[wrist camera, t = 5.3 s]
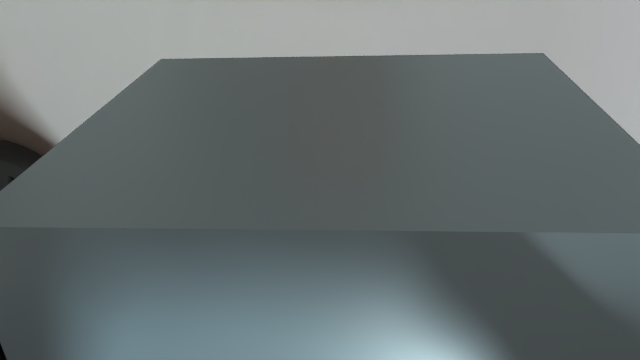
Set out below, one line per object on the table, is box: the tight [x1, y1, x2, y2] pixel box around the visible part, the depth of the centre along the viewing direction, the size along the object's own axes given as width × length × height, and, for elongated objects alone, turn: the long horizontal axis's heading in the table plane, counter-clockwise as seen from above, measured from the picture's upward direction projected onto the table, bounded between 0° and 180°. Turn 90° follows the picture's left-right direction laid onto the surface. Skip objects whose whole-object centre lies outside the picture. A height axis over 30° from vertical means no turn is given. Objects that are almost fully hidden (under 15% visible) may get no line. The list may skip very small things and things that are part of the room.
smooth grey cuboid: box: [0, 53, 640, 360], centre depth 14 cm, size 10×10×9 cm
